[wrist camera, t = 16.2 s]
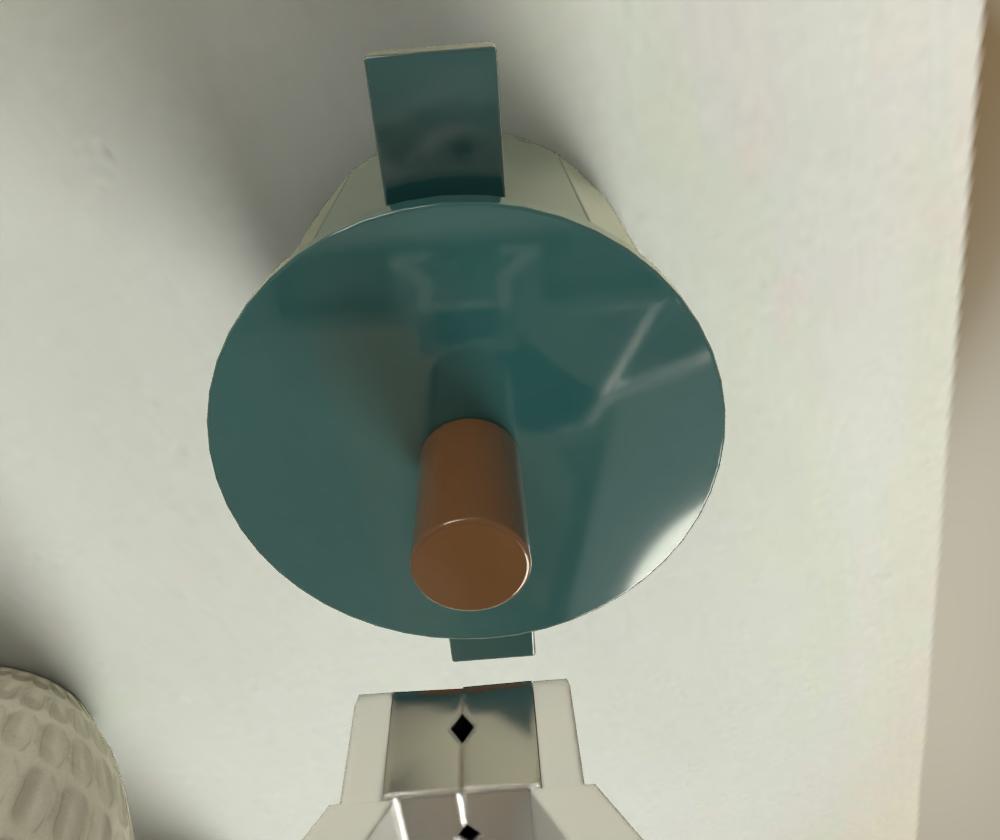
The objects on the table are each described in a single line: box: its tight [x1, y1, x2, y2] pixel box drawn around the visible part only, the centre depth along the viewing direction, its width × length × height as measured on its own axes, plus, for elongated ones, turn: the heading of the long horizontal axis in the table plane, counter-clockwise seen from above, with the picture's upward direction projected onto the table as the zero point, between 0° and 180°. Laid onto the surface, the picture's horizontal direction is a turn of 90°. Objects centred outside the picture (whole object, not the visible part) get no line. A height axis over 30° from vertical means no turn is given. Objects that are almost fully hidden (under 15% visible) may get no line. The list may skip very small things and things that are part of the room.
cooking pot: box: [295, 42, 639, 662], centre depth 21 cm, size 10×16×8 cm, turn 4°
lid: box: [207, 195, 725, 639], centre depth 16 cm, size 11×11×5 cm
